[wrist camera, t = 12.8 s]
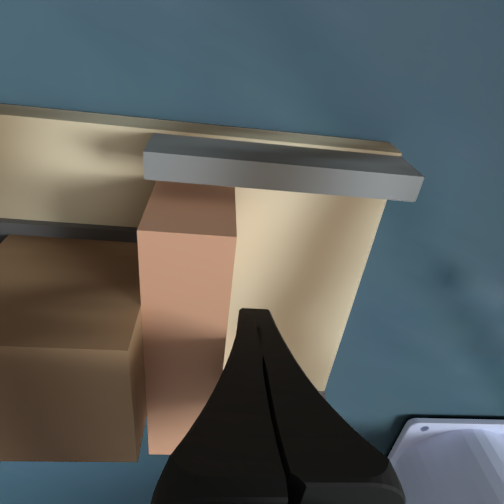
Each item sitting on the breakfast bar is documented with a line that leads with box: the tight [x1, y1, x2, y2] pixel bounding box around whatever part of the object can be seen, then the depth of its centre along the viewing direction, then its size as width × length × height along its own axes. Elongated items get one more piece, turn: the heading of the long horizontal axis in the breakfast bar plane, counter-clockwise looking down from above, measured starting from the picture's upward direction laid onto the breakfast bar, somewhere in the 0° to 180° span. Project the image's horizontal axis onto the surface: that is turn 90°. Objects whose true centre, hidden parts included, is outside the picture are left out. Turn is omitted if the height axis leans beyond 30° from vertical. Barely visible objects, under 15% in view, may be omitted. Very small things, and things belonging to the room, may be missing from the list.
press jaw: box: [137, 181, 237, 455], centre depth 14 cm, size 2×10×3 cm, turn 173°
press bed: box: [0, 104, 424, 400], centre depth 14 cm, size 16×13×6 cm
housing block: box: [0, 234, 147, 462], centre depth 13 cm, size 5×5×5 cm
